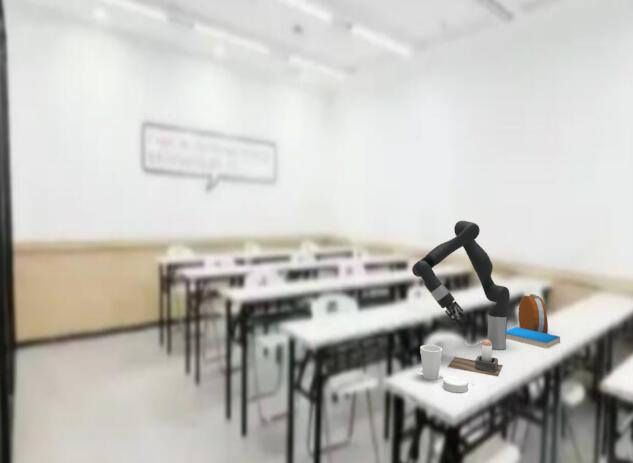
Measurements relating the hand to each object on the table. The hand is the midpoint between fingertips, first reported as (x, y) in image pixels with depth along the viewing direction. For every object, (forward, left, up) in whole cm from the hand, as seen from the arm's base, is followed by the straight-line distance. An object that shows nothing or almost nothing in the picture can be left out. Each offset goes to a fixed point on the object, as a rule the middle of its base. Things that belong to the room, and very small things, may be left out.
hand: (464, 324), depth 212 cm
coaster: (+29, +3, -20) cm, 36 cm away
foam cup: (+23, -9, -20) cm, 32 cm away
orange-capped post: (+2, +11, -19) cm, 21 cm away
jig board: (+2, +6, -20) cm, 21 cm away
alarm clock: (-81, +25, -20) cm, 87 cm away
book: (-61, +25, -20) cm, 69 cm away
